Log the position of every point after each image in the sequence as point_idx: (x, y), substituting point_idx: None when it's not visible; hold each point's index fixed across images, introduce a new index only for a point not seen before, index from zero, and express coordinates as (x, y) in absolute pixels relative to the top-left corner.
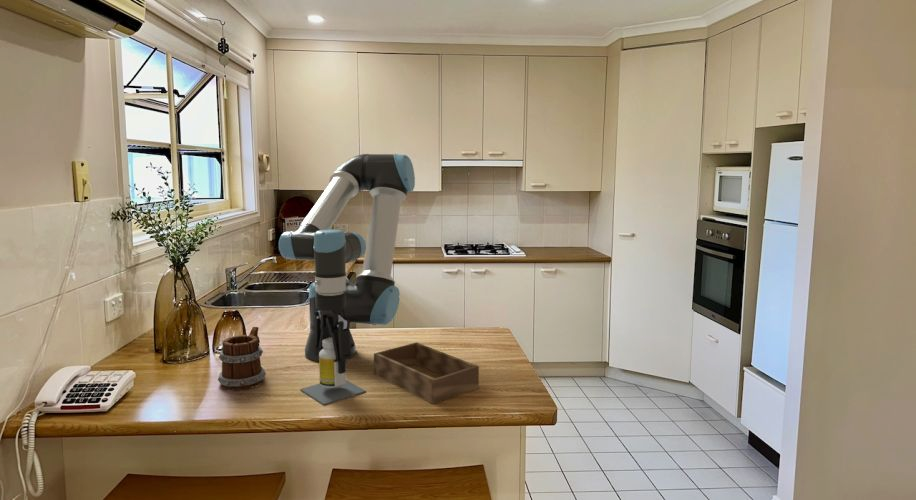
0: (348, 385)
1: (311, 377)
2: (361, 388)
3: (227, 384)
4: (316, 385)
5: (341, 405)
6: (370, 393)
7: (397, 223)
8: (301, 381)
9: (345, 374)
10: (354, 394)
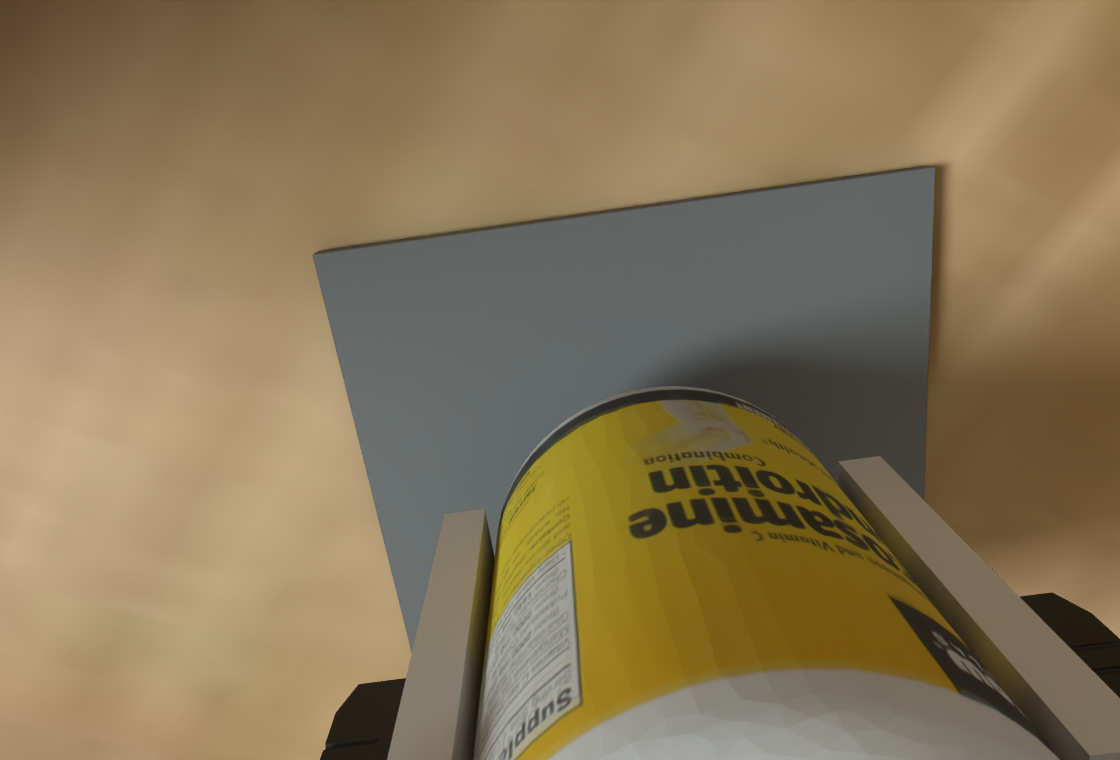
0: (634, 288)
1: (107, 535)
2: (832, 186)
3: None
4: (424, 588)
5: (1028, 532)
6: (991, 129)
7: None
8: (189, 650)
9: (951, 529)
10: (926, 336)
